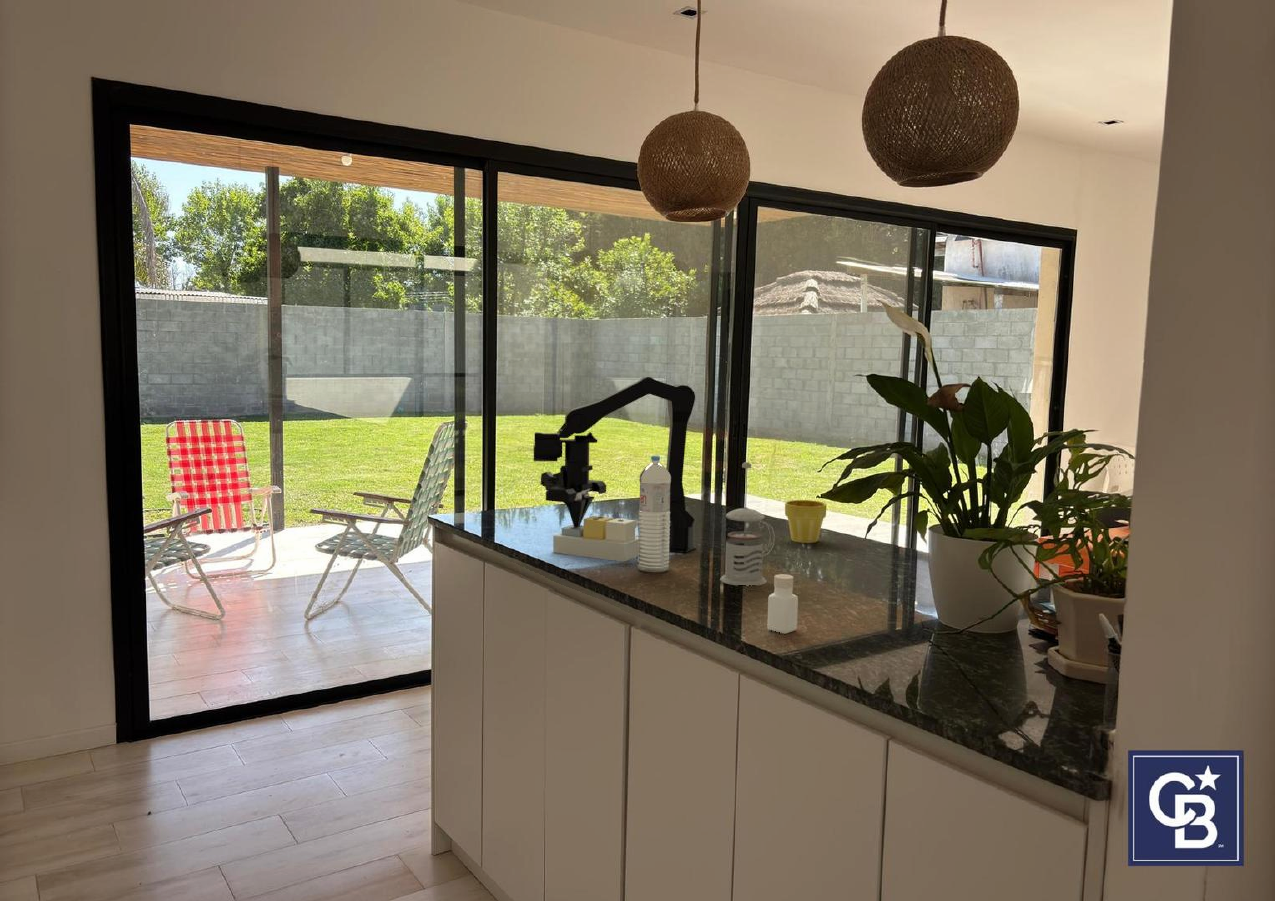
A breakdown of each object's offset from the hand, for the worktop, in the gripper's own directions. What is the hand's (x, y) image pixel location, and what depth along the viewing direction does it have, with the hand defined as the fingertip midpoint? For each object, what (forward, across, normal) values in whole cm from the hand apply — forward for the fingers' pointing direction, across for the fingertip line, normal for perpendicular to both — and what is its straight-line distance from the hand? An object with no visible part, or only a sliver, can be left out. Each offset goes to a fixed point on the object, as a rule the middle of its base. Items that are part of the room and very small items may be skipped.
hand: (576, 526), depth 222 cm
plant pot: (+6, -41, +43) cm, 60 cm away
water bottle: (+6, +8, +24) cm, 26 cm away
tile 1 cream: (+2, 0, +12) cm, 12 cm away
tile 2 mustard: (+2, 0, +6) cm, 6 cm away
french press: (+6, +6, +45) cm, 46 cm away
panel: (+6, 0, +6) cm, 8 cm away
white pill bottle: (+6, +37, +63) cm, 74 cm away
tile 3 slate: (+5, 0, 0) cm, 5 cm away
